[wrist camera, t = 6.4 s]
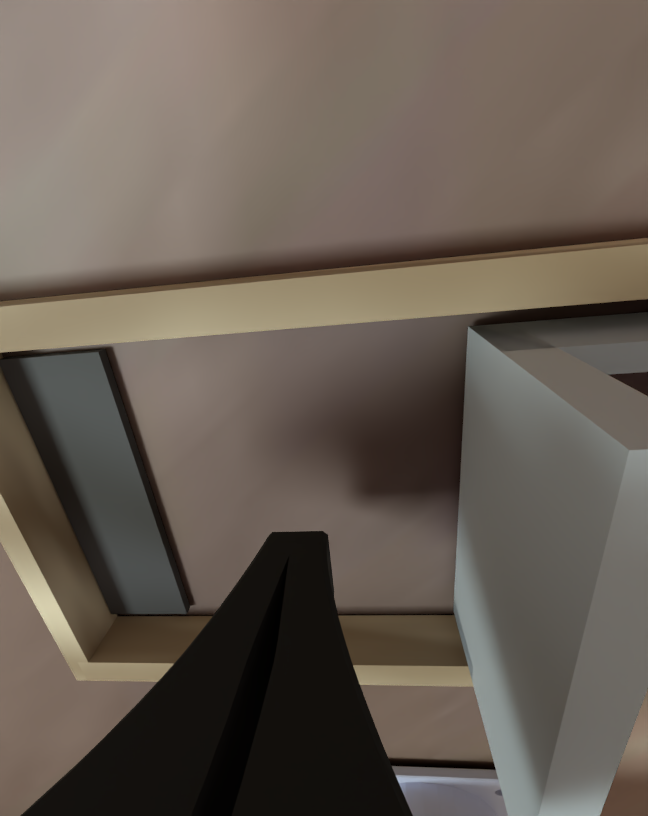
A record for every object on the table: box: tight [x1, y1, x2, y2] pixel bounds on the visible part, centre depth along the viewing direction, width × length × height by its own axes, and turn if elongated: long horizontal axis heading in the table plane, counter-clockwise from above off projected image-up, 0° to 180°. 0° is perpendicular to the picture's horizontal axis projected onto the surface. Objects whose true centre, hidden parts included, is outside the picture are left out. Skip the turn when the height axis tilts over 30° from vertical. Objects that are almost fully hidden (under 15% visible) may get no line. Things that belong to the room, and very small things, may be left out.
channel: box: [0, 238, 648, 687], centre depth 11 cm, size 13×24×3 cm, turn 96°
